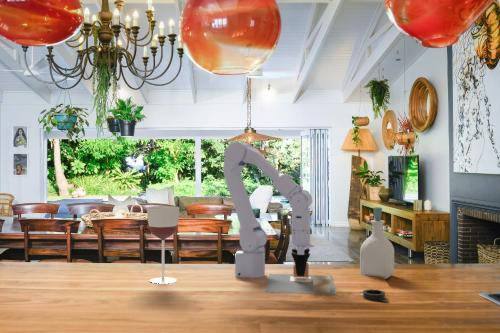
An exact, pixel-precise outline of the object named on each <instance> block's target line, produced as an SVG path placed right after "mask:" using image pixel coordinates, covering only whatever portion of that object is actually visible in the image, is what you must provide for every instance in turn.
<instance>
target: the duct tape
mask: <svg viewBox="0 0 500 333" xmlns="http://www.w3.org/2000/svg"><path fill="white" fill-rule="evenodd" d="M359 294H360V295H362V298H363V299H364V300H368V301H375V302H376V301H379V302H384V303H385V304H390V303H391V302H390V301H387V300H385V299H386V292H385V291H383V290H380V289H373V288H372V289H365V290H363V291H361V292H359Z"/></svg>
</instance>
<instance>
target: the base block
mask: <svg viewBox="0 0 500 333" xmlns="http://www.w3.org/2000/svg"><path fill="white" fill-rule="evenodd" d="M292 266H293V267H292V268H293V274H292V275H293V277H303V278H309V275H310V274H309V272H310V270H309V268H310V267H309V262H307V264H306V269H305V274H304V276H297V273H296V267H295V262H294V261H293V265H292Z"/></svg>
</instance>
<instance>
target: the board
mask: <svg viewBox="0 0 500 333" xmlns="http://www.w3.org/2000/svg"><path fill="white" fill-rule="evenodd" d="M313 275H314V274H309V278H303V277H293V274H288V273H287V274H286V273H284V274H282V273H269V274H268V279H267V282H266V286H265V289H264V293H278V294H279V293H282V294H284V293H287V294H315V295H317V294H319V295H337V294H338V293H337V290H336V285H335V282H334V281H335V280H334V279H333V278H334V277H333V275H329V276H330V292H314V289H313ZM322 276H327V275H326V274H325V275H323V274H322Z"/></svg>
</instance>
